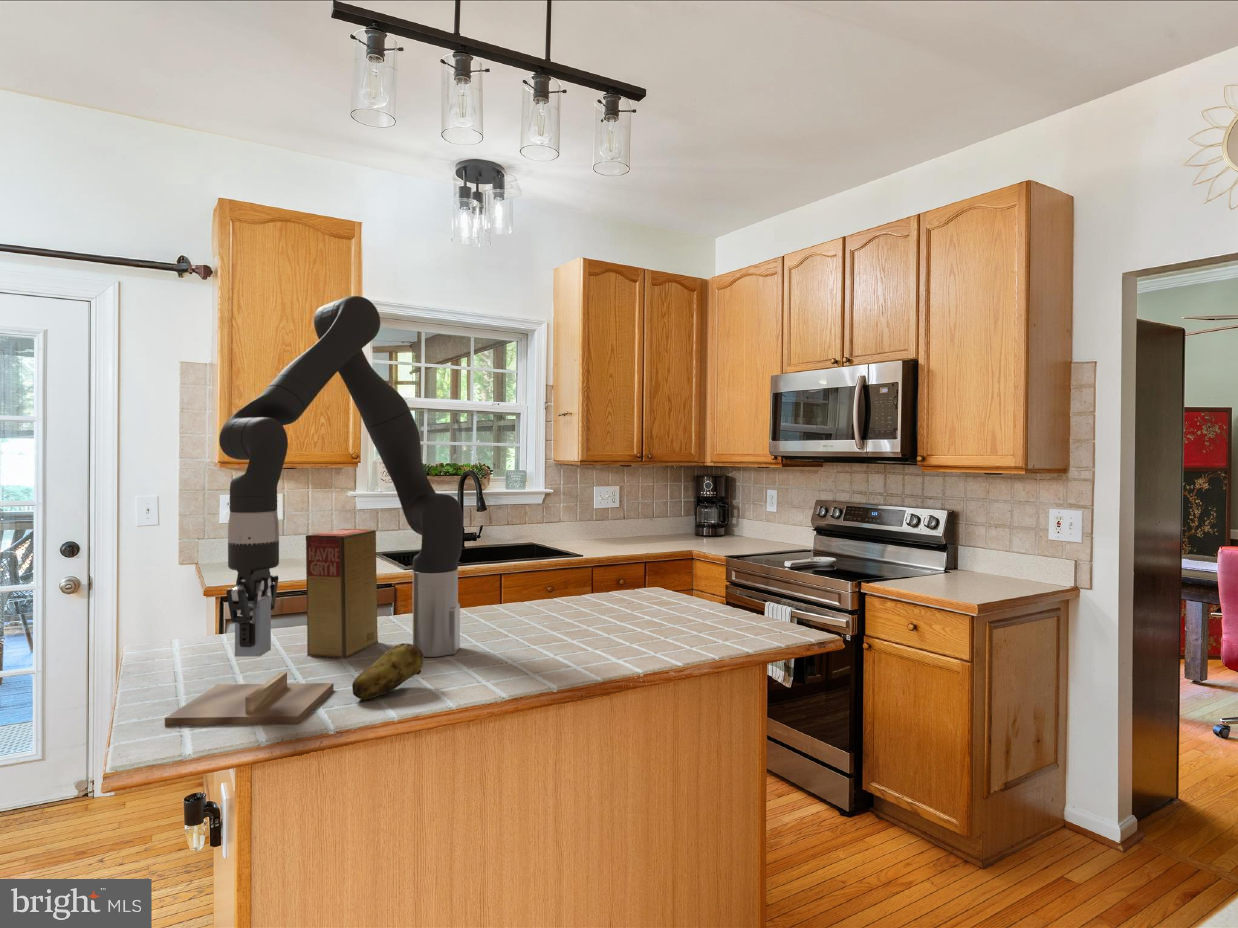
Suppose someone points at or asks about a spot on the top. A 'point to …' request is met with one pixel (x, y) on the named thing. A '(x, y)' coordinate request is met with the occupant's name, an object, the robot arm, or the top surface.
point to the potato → (388, 671)
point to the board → (252, 703)
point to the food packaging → (341, 592)
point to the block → (257, 631)
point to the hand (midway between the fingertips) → (253, 642)
